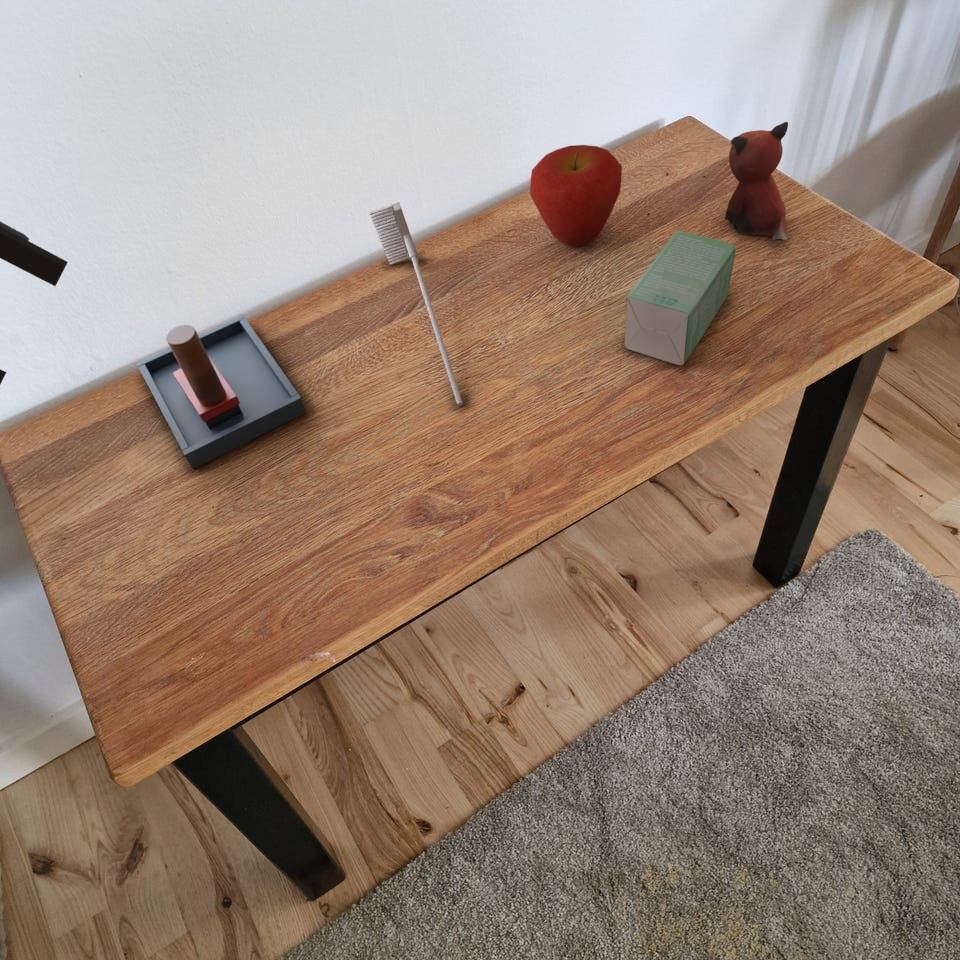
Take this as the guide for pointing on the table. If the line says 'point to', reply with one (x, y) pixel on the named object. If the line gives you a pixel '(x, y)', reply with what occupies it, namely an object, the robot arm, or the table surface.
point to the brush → (407, 251)
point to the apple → (576, 191)
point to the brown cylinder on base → (201, 378)
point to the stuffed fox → (757, 183)
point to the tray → (249, 377)
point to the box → (678, 297)
